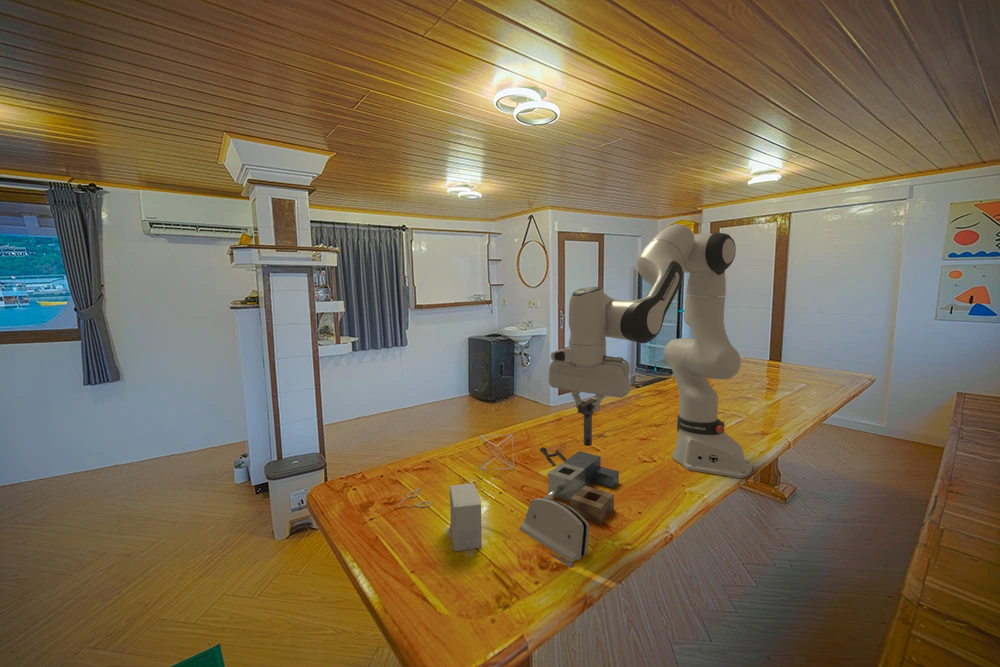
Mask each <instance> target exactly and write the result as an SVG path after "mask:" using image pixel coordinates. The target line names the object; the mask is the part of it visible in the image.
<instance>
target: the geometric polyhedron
mask: <svg viewBox="0 0 1000 667" xmlns="http://www.w3.org/2000/svg"><path fill="white" fill-rule="evenodd" d="M493 436H494V437H495V436H501V434H485V435H483V434H482V435H479V438H480V439H481V440H482V441H483V442H484V444H485V445H486V446H487V447H488V448H489V449H490V450H491V453H490V454H489V455H488V457H487V458H486V459H485V461H484V462H483V464H482V465H481V466H480V467H479V469H480V470H481V471H482V470H486V468H485V467H486V466H487V465H489V464H490V463H491V462H492V461H494V460H495V459H496V458H498V459H499V460H501V461H502V462H503V463H505V464H506V465H508V466H509V467H504V468H503V467H501V468H500V467H499V468H494V470H508V469H512V470H513V469H514V468H515V461H514V460H515V458H514V457H515V456H514V454H512V462H513V464H512V463H511V462H510V461H509V459H507V457H506V456H505V455H504V454H503V452H502V451H503V449H504V448H505V446H506V445H507V443H509V440H510V439H511V441H512V442H511V443H512V444H511V445H512V446H511V447H512V448H514V441H513V440H514V438H513V434H511V433H510V434H507V436H508V437H506V438H505V439H503V440H502V441H501V442H500V443H498V444H494V443H493V442H491V441H489V440H488V439H487V438H485V437H493ZM505 441H506V442H505ZM487 442H488V443H490V444H491V445H493V446H494V448H493V450H492V448H491V447H490V446H489V445H488V444H487ZM504 442H505V444H504V445H503V446H502V448H501V449H499V447H498V446H499V445H501V444H502V443H504ZM496 449H497V450H498V451H499V452H498V454H497V453H495V452H494V451H495V450H496ZM492 454H493V455H494V456H495V457H494V458H492V460H490V461H488V459H489V458H490V456H491V455H492ZM500 454H501V455H502V456H503V457H504V459H505V460H506V461H507V462H506V461H505V460H503V459H502V458H501V457H498V456H499V455H500ZM493 459H494V460H493ZM487 461H488V462H487Z"/></svg>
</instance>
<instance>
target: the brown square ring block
mask: <svg viewBox="0 0 1000 667" xmlns="http://www.w3.org/2000/svg"><path fill="white" fill-rule="evenodd" d="M569 507H571V508H572V509H574V510H575V511H576V512H578V513H579V514H580V515H581V516H582V517H583V518H584V519H585V520H586V521H590V522H593V523H595V524H598V525H602V523H603V522H604V521H605V520H606V519H607V518H608V517H609V516H610V515H611V513H613V511H614V510H615V494H614V493H611V492H607V491H603V490H601V489H599V488H595V487H591V486H589V487H588V486H584V487H583V488H582V489H580V490H579V491H578V492H577V493H576V494H575V495H574V496H572V497H571V498H570V501H569Z"/></svg>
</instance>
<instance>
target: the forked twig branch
mask: <svg viewBox="0 0 1000 667" xmlns="http://www.w3.org/2000/svg"><path fill="white" fill-rule="evenodd" d="M547 450H548V449H547V448H546V447H545V446H544V447H543V446H542V447H541V448H539V452H543V455H544V456H545V457H546V459H547V461H548V462H549V463H550V465H551V466H552V467H553V468H556V467H557V465H556V464H555V462H554V461H553V459H552V458H551V457H555V456H558V457H560V458H561V459H562V461H563V462H564V461H566V460H567V458H566V457H565V456H564V455H563V453H562V452H560V450H561V451H563V449H561V448H557V449H555V452H553V453H552V454H551V453H550V454H549V453H548V452H547Z"/></svg>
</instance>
